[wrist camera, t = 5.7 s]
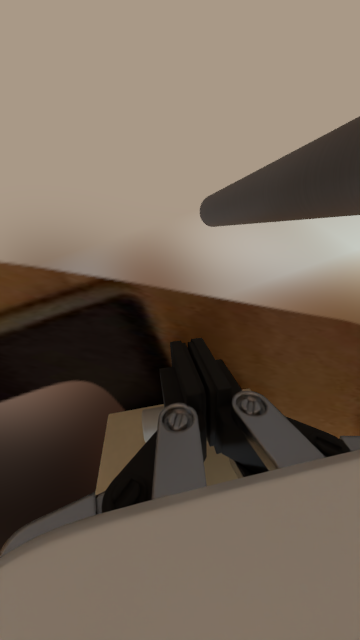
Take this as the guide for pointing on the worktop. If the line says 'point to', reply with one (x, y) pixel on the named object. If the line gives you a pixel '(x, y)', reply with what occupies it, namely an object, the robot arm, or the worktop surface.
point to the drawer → (130, 436)
